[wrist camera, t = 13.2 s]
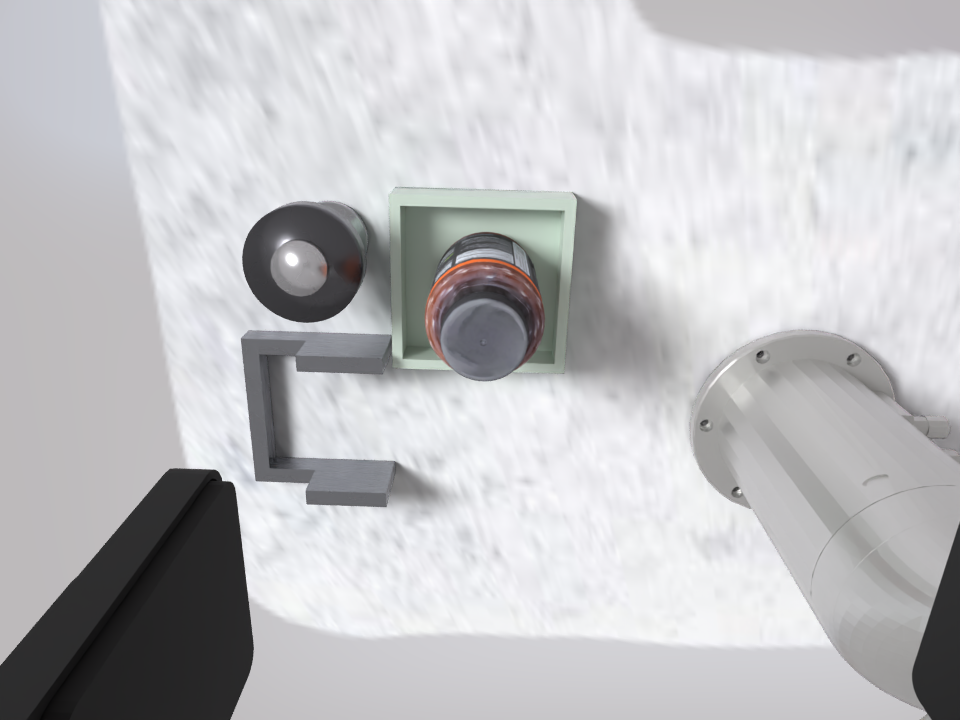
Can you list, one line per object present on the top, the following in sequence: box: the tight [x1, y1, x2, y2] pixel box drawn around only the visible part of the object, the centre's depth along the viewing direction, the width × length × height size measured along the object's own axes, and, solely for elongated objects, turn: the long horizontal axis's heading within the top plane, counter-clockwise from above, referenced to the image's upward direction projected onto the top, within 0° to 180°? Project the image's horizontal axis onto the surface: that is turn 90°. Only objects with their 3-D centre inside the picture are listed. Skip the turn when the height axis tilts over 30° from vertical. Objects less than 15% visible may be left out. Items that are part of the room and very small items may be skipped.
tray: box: [389, 187, 577, 374], centre depth 42 cm, size 10×10×3 cm
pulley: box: [242, 201, 368, 323], centre depth 39 cm, size 6×6×8 cm
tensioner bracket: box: [241, 330, 395, 507], centre depth 45 cm, size 9×10×4 cm
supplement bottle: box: [425, 232, 545, 381], centre depth 37 cm, size 6×6×11 cm
